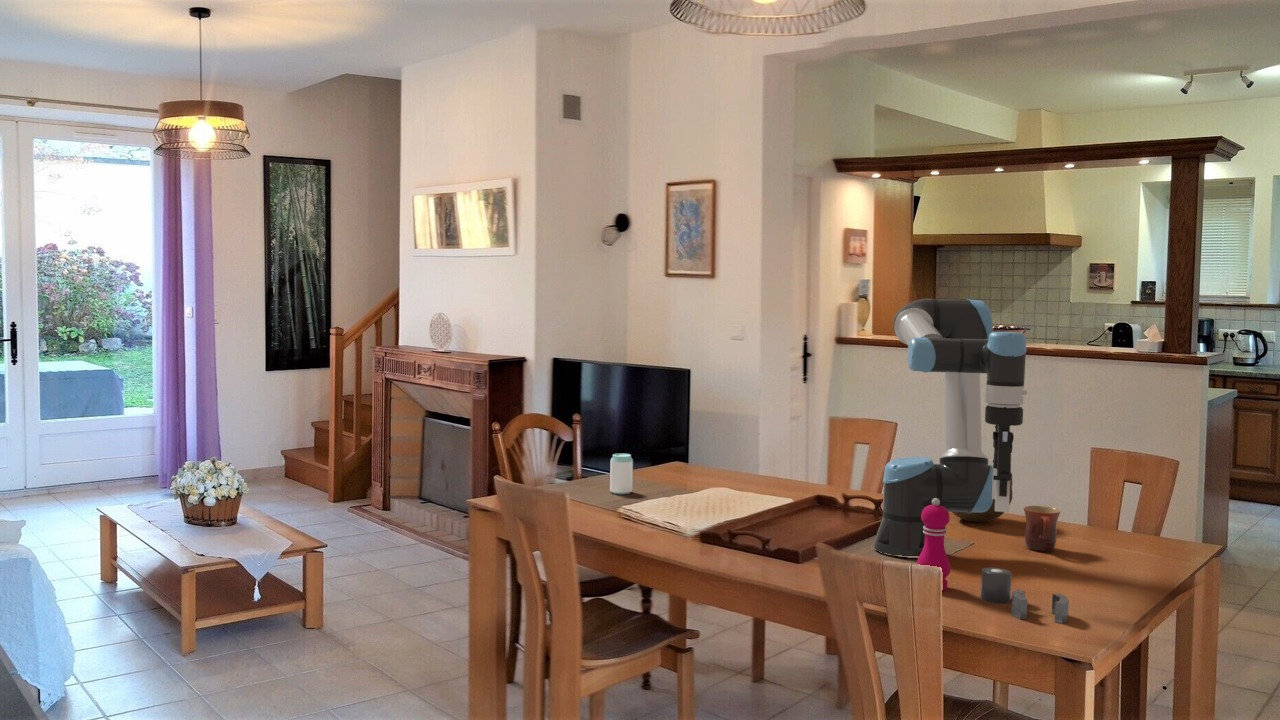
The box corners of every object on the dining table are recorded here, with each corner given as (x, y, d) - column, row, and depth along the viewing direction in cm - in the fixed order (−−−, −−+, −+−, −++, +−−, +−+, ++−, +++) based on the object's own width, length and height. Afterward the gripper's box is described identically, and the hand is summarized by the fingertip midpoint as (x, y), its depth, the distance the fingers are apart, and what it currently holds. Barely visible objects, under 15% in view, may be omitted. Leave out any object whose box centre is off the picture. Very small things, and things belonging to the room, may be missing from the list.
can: (607, 494, 320) (608, 456, 319) (612, 489, 327) (612, 452, 326) (630, 495, 318) (630, 457, 318) (634, 491, 325) (634, 453, 324)
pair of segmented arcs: (1012, 618, 206) (1013, 599, 206) (1010, 607, 213) (1011, 588, 213) (1069, 624, 203) (1070, 604, 203) (1064, 613, 210) (1066, 594, 210)
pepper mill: (910, 582, 230) (914, 494, 228) (942, 582, 231) (945, 494, 229) (922, 592, 223) (926, 501, 221) (954, 592, 223) (958, 501, 222)
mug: (1019, 543, 267) (1021, 504, 266) (1054, 545, 265) (1056, 506, 265) (1027, 555, 255) (1028, 514, 255) (1064, 558, 254) (1066, 517, 253)
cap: (981, 601, 217) (982, 573, 217) (980, 593, 223) (981, 565, 222) (1011, 604, 215) (1012, 575, 215) (1009, 596, 221) (1010, 568, 221)
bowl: (1018, 520, 294) (1020, 468, 293) (1002, 532, 279) (1004, 478, 277) (952, 511, 304) (954, 461, 303) (933, 523, 289) (935, 470, 287)
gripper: (1027, 412, 203) (1023, 518, 204) (1019, 400, 227) (1015, 495, 228) (987, 410, 205) (983, 515, 207) (983, 398, 229) (979, 493, 230)
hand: (1000, 505), depth 217 cm, fingers open, 13 cm apart
